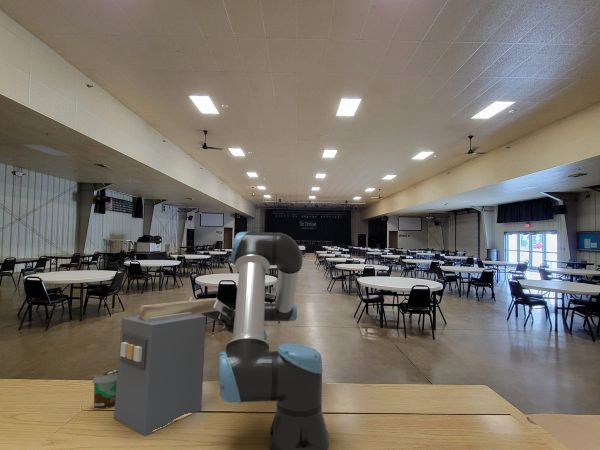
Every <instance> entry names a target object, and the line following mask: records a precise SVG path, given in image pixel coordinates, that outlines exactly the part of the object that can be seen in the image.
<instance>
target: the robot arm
mask: <svg viewBox="0 0 600 450" xmlns="http://www.w3.org/2000/svg"><path fill="white" fill-rule="evenodd" d="M230 261H231V262H230V263H231V265H234V268H235V270H236V272H237V273H238V280H237V288H236V299H235V307H233V306H231V308H230V306H227V305H226V304H225V303H223V302H221V301H220V300H219V299H218V300H216V302H215V304H214V307H213V308H215V309H216V310H218V311H212V312H206V313H200V314H201V315H202V316H206V317H208V318H210V319H213V320H214V321H216V322H217V323H219V322H220V323H221V324H224V325H225V330H226V331H227V332H229V333H231V334H232V339H231V340H230V341H229V342H227V344H226V346H225V351H224V350H223V351H221V352H219V353H218V356H219V357H218V381H219V382H218V383H219V394H220V397H221V400H222V401H224V402H225V403H239V404H241V403H256V402H257V403H258V402H259V403H261V402H276V411H275V413H274V416H273V420H272V422H271V426H270V428H269V432H268V445H269V449H270V450H327V449H328V447H329V432H328V429H327V425H326V421H325V418H324V414H323V411H322V405H323V404H322V402H323V400H322V399H323V392H322V390H323V372H324V369H323V361H322V360H323V359H322V355H321V353H320V352H319V350H316V349H315V348H314V347H310V346H307V345H304V344H300V343H299V344H298V343H282V344H279V346H278V347H277V348H276V349H277V351H275V350H274V351H272V350H271V351H270V344H269V343H268V341H267V339H268V334H267V332H266V330H265V322H294V321H296V320H297V318H298V317H297V316H298V307H297V304H296V303H294V302H295V295H296V289H297V283H298V276H299V272H300V271H301V270H302V267H303V253H302V250H301V248H300V246H299V245H298V243H297V242H296V240H294V239H293V237H291V236H289V235H287V234H285V233H282V232H263V231H262V232H259V231H240V232H237V233H236V235H235V236H234V239H233V241H232V246H231V253H230ZM272 266H274V267H276V268H277V270H278V272H277V284H276V285H277V286H276V293H275V294H276V296H275V297H276V298H275V303H271V302H269V303H268V302H267V303H266V301H265V299H266V273H268V272H269V270H270V268H271V267H272ZM190 300H197V298H195V297H193V296H191V297H190V298H189V300H188V301H190Z"/></svg>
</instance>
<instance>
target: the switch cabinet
mask: <svg viewBox="0 0 600 450" xmlns="http://www.w3.org/2000/svg"><path fill="white" fill-rule="evenodd" d="M206 323H207V316H206V315H202V314H201V315H200V314H193V315H192V312H186V313H180V314H173V315H166V316H159V317H152V318H148V321H143V320H140V314H139V315H137V316H130V317H123V318H121V327H120V340H119V341H120V342H119V350H118V351H119V354H118V364H117V369H118V374H117V386H116V398H115V406H114V410H113V413H114V414H113V419H114V418H115V420H116V419H117V420H116V421H118V422H119V423H121V424H123V425H125V426H127V427H128V428H130V429H131V430H133V431H135V432H137V433H138V434H140V435H142V436H143V437H146V436H149V435H151V434H152V433H151V432H152V431H153V430H155V429H158V428H160V427H163V426H165V425H167V424H168V423H170V422H172V421H173V420H174V419H176V418H178V417H180V416H182V415H184V414H188V413H194V414H196V413H198V412H200V411H202V405H203V403H202V402H203V385H204V384H203V383H204V367H205V366H204V365H205V364H204V363H205V345H206V343H205V342H206V329H207V328H206V326H207V324H206ZM150 433H151V434H150Z"/></svg>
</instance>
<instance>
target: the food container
mask: <svg viewBox="0 0 600 450" xmlns="http://www.w3.org/2000/svg"><path fill="white" fill-rule="evenodd" d="M117 374H118V368H115V369H111V370H109V371H107V372H105V373H104V374H102V375H94V376H93V379H92V384H94V385H93V390H94V391H93V409H94V408H103V409H107V408H106V407H109V408H112V407H115V398H116V386H117Z"/></svg>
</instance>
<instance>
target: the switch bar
mask: <svg viewBox="0 0 600 450" xmlns="http://www.w3.org/2000/svg"><path fill="white" fill-rule="evenodd" d="M189 300H190V299H189ZM189 300H183V301H182V300H181V301H174V302H172V301H171V302H165V303H155V304H145V305H140V311H139V315H140V320H143V321H148V318H152V317H159V316H166V315H173V314H180V313H186V312H192V315H193V314H195V315H200V314H201V313H206V312H212V311H218V310H216V309H215V308H213V307H214V304H215V302H216V300H219V299H217V298H212V297H211V298H200V299H196V300H190V301H189Z"/></svg>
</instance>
